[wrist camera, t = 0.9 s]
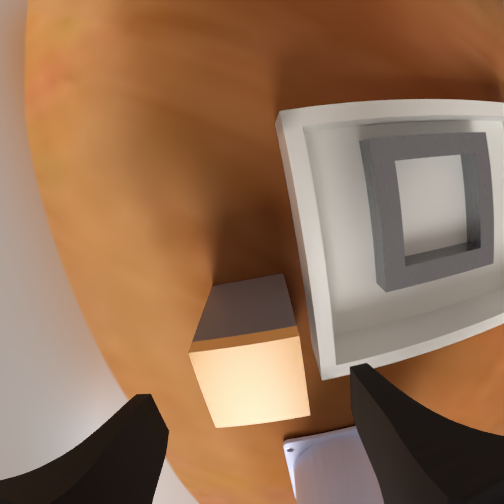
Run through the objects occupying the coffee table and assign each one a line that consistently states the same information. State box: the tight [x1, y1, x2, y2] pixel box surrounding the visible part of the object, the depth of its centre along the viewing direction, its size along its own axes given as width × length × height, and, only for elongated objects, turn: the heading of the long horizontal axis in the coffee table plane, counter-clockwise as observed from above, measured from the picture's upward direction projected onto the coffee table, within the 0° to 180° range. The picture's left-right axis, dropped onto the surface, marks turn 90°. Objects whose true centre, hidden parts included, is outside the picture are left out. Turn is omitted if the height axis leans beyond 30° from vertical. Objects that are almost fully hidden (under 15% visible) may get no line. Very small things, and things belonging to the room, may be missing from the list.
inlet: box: [359, 132, 494, 292], centre depth 15 cm, size 8×8×2 cm
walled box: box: [275, 99, 504, 380], centre depth 15 cm, size 13×16×4 cm
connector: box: [188, 273, 310, 428], centre depth 15 cm, size 4×4×7 cm
